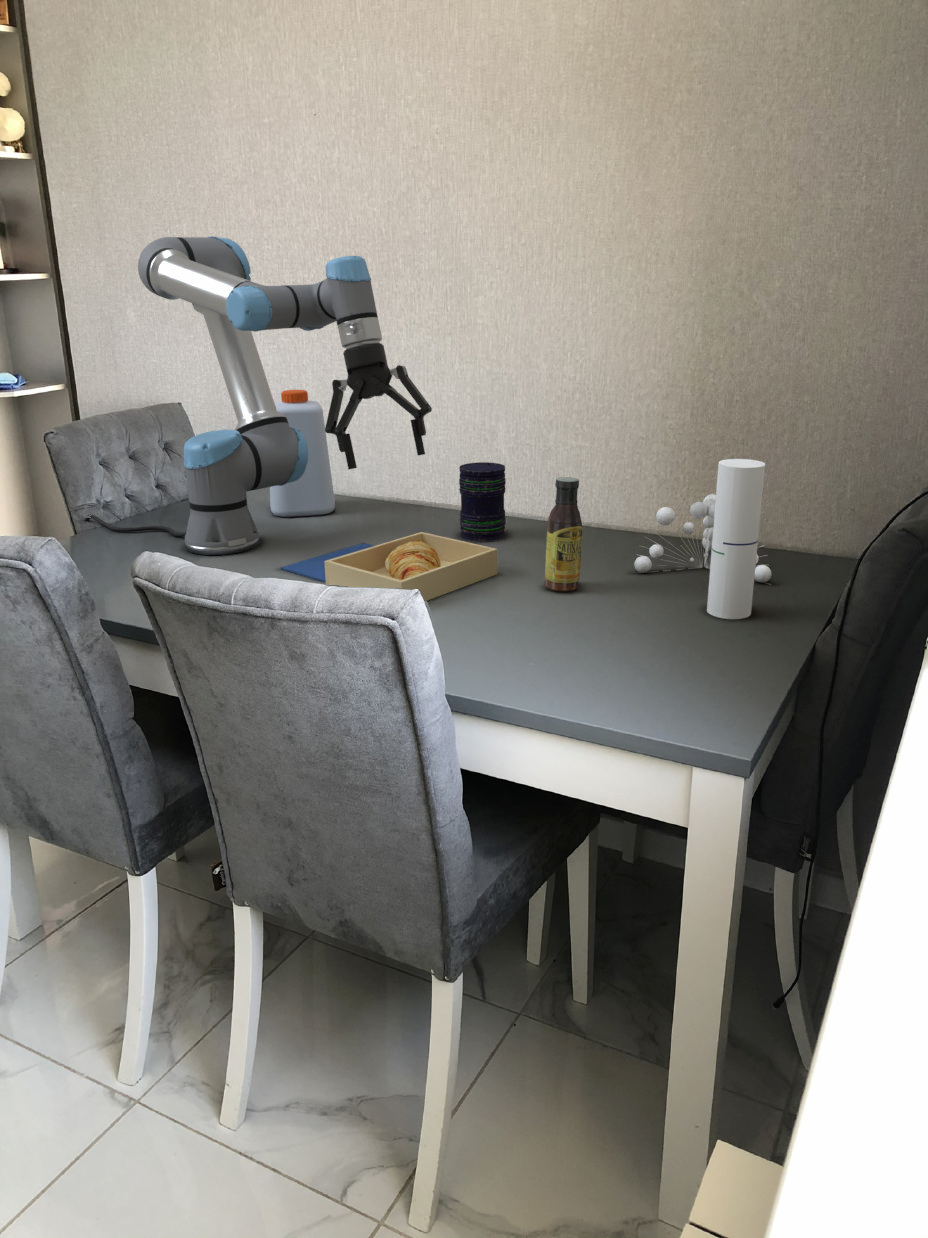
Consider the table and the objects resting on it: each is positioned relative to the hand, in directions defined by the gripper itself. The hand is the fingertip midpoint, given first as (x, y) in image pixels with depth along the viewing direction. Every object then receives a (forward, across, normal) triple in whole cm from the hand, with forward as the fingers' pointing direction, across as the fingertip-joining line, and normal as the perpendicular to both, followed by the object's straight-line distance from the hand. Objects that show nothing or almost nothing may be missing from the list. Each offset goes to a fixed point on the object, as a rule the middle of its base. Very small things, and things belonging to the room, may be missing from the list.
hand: (386, 462), depth 180 cm
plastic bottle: (+7, -37, +45) cm, 58 cm away
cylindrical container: (+36, +56, -11) cm, 68 cm away
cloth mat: (+18, -14, +5) cm, 23 cm away
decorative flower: (+31, +51, +12) cm, 60 cm away
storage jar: (+19, +9, +29) cm, 36 cm away
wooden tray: (+22, +1, -4) cm, 23 cm away
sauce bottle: (+28, +28, -3) cm, 40 cm away
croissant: (+22, +2, -4) cm, 22 cm away
